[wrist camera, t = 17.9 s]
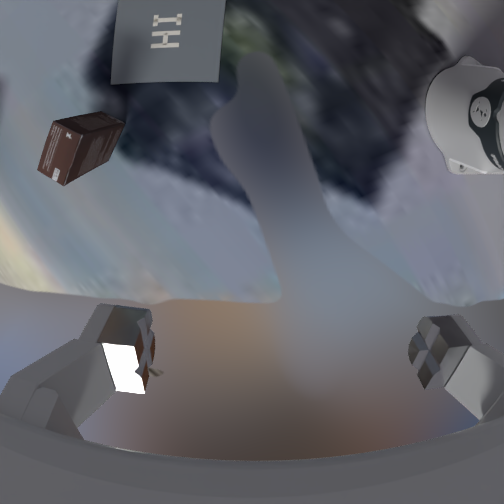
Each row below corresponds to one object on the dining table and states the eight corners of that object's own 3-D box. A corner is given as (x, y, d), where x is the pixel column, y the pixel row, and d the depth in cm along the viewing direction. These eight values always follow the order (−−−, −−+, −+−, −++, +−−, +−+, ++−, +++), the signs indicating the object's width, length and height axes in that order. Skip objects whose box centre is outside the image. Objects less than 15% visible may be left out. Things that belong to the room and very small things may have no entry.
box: (99, 109, 36) (52, 118, 25) (126, 123, 37) (85, 136, 26) (82, 149, 38) (34, 171, 27) (108, 163, 39) (66, 189, 29)
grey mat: (227, -18, 29) (227, -18, 29) (218, 82, 35) (218, 82, 35) (120, -11, 28) (120, -11, 28) (111, 84, 34) (110, 84, 34)
